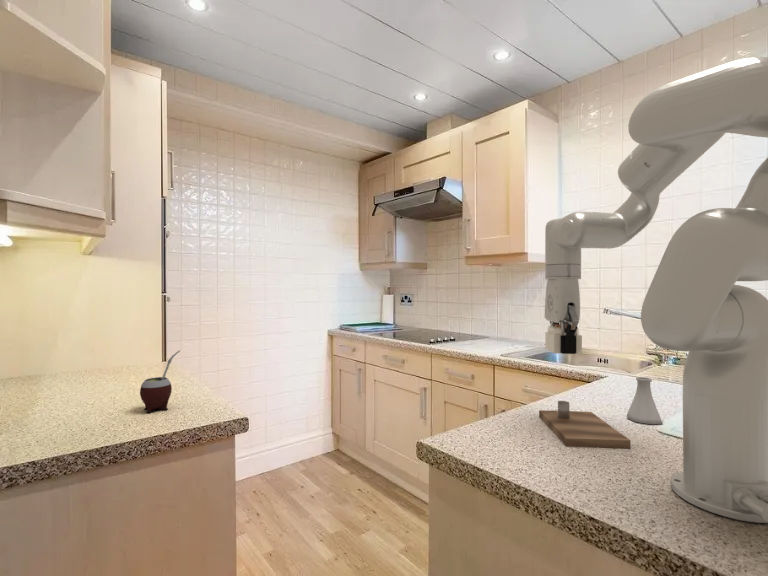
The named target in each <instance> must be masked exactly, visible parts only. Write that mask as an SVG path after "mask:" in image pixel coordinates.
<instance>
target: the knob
mask: <svg viewBox="0 0 768 576" xmlns="http://www.w3.org/2000/svg"><path fill="white" fill-rule="evenodd" d="M565 326H566V327H567V325H565ZM579 333H580V332H579V327H578V328H577V336H576V354H578V355H580V354H581V355H582V354H583V335H581V334H579ZM544 335H545V336H544V337H545V338H544V339H545V341H544V342H545V347H544V348H545V350H547V351H549V352H551V353H553V354H562V353H561V352H560V337H561V335H562V329H561V324H560V323H559V324H555V326H550V325H548V326H547V331H545V334H544ZM576 354H575V355H576Z"/></svg>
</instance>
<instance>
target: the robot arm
mask: <svg viewBox="0 0 768 576" xmlns="http://www.w3.org/2000/svg"><path fill="white" fill-rule="evenodd" d="M628 134H629V136H630V138H631V139H632V141H634V142H635V143H636V144H637V145H636V147H635V148H634V149H633V150H632V151H631V152H630V153H629V154H628V156H627V157H626V158H625V159H624V160H623V161H622V162H621V163H620V164H619V167H618V169H617V175H618V176H617V177H618V179H619V181H620V182H621V184H622V185H623V186H624V187H625V188H626V189H627V190H628V191H629V192H630V195H629V197H628V198H627V199H626V200H625V201H624V202H623V204H621V205H620V206H619V207H618V208H617V209H616V210H615V211H613V212H611V213H610V212H595V211H574V212H571V213H569V214H567V215H565V216H564V217H562V218H554V219H551V220H549V221H548V222H546V225H545V229H544V230H545V233H544V234H545V236H544V237H545V240H544V242H545V243H544V245H545V247H544V251H545V252H544V253H545V254H544V255H545V256H544V257H545V258H544V265H545V266H544V269H545V270H544V271H545V274H544V275H545V278H544V279H545V280H546V285H545V286H546V287H545V298H544V299H545V301H544V302H545V303H544V318H545V320H546V321H547V322H549V324H550V325H549V326H555V324H561V329H562V335H561V337H560V352H561V353H560V354H563V355H576V336H577V328H579V327H578V325H579V322H580V317H581V303H580V302H581V301H580V300H581V297H580V284H579V280H582V249H609V250H610V249H614V248H619V247H621V246H624V245H625V244H627V243H628V242H629V241H630V240H632V239H634V237H635V236H637V235H638V234H639V233H640V232H641V231H643V230H644V229H645V228H646V227H647V226H648V225H649V224H650V223H651V221H652V219H653V218H654V216H655V213H656V212H657V210H658V207H659V203H660V196H661V193H662V192H664V190H666V188H668V187H669V186H670V185H671V184H672V183H673V182H674V181H675V180H677V179H678V177H680V176H681V175H682V174H683V173H684V172H685V171H686V170H687V169H688V168H690V167H691V166H692V165H693V164H694V163H695V162H696V161H698V159H699V158H701V156H703V155H704V154H705V153H706V152H707V151H708V150H710V149H711V148H712V147H713V146H714V145H715V144H716V143H717V142H719V140H721V139H722V137H723V136H724V135H726V134H736V135H743V136H750V137H755V138H756V137H757V138H759V137H760V138H768V56H754V57H753V56H751V57H744V58H739V59H735V60H732V61H729V62H726V63H723V64H721V65H717V66H714V67H711V68H709V69H705V70H702V71H700V72H696V73H694V74H691V75H688V76H685V77H683V78H680V79H677V80H673V81H671V82H668V83H666V84H663V85H661V86H659V87H658V88H655V89H654V90H652V91H651V92H649V93H648V94H647V95H646V96H644V97H643V98H642V99H641V100H640V101H639V102H638V103H637V105H636V106H635V107H634V109H633V110H632V113H631V114H630V118H629V121H628ZM764 281H766V282H767V281H768V157H766V159H765V160H764V161H762V163H761V164H760V165H758V167H757V169H756V170H755V172H754V173H753V175H752V177H751V178H750V180H749V183H748V185H747V187H746V189H745V192H744V193H743V195H742V196H741V199H740V200H739V201H738V204H737V206H735V208H733V207H719V208H710V209H706V210H704V211H700V212H699V213H696V214H695V215H692V216H691V217H689V218H688V219H687V220H685V221H684V222H683V223H682V224H681V225H680V226H679V227H678V229H676V231H675V232H674V233H673V235H672V236H671V238H670V240H669V242H668V244H667V245H666V247H665V250H664V253H663V255H662V257H661V260H660V261H659V264H658V267H657V269H656V271H655V274H654V276H653V278H652V281H651V283H650V285H649V287H648V290H647V292H646V295H645V297H644V299H643V302H642V306H641V312H640V322H641V323H640V324H641V326H642V329H643V332H644V334H645V335H646V337H647V338H648V339H649V340H650V341H651V342H652V343H653V344H654V345H656V346H658V347H660V348H662V349H665V350H668V351H669V350H670V351H675V352H688V353H687V356H686V358H685V362H684V366H683V370H682V371H683V373H682V455H683V456H682V458H683V459H682V462H683V463H682V465H683V466H682V468H683V471H681V472H677V473H675V474H673V475H672V476H671V478H670V486H671V487H670V488H671V489H672V491H673V492H674V493H675V494H676V495H677V496H678V497H680V498H682V500H685V501H687V503H690V504H691V505H694V506H695V507H698V508H699V509H702V510H704V511H707V512H709V513H713V514H716V515H719V516H722V517H725V518H728V519H732V520H737V521H742V522H749V523H758V524H768V298H766V296H765V295H763V294H762V293H761V292H759V291H757V290H755V289H753V288H751V287H748V286H744V285H740V284H736V282H764ZM565 325H567V327H566V326H565Z"/></svg>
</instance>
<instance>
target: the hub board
mask: <svg viewBox="0 0 768 576" xmlns="http://www.w3.org/2000/svg"><path fill="white" fill-rule="evenodd" d="M538 416H539V418H540V420H542V422H543V421H544V424H545V425H546V426H547V427H548V429H549V430H551V432H553V433H554V435H555V436H556V437H557V438H558V439H559V440H560V441H561V442H562V443H563V445H564V446H565V447H571V448H572V447H573V448H597V447H599V448H603V449H605V448H606V449H631V448H632V447H631V446H632V445H631V443H632V442H631V440H630V439H629V438H628V437H626V436H625V435H624V434H622V433H621V432H620V431H618V430H617V429H615V428H614V427H612V426H611V425H610V424H608V423H607V422H606V421H605V420H603V419H601V418H600V417H599V416H597V415H596V414H594V413H593V412H592V411H582V410H581V411H575V410H571V411H570V402H569V401H567V400H558V401H557V409H554V410H541V409H540V410H539V411H538Z"/></svg>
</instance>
